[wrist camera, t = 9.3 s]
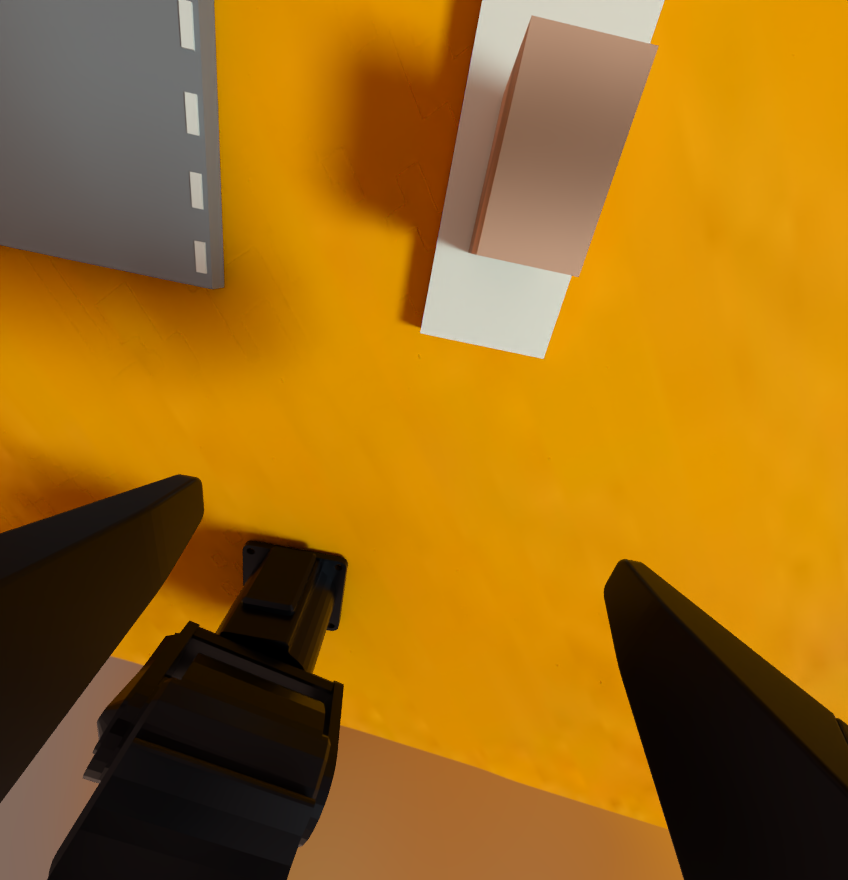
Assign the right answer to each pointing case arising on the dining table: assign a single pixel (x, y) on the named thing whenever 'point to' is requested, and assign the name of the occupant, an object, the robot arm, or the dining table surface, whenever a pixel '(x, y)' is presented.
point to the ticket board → (112, 135)
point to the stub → (534, 163)
